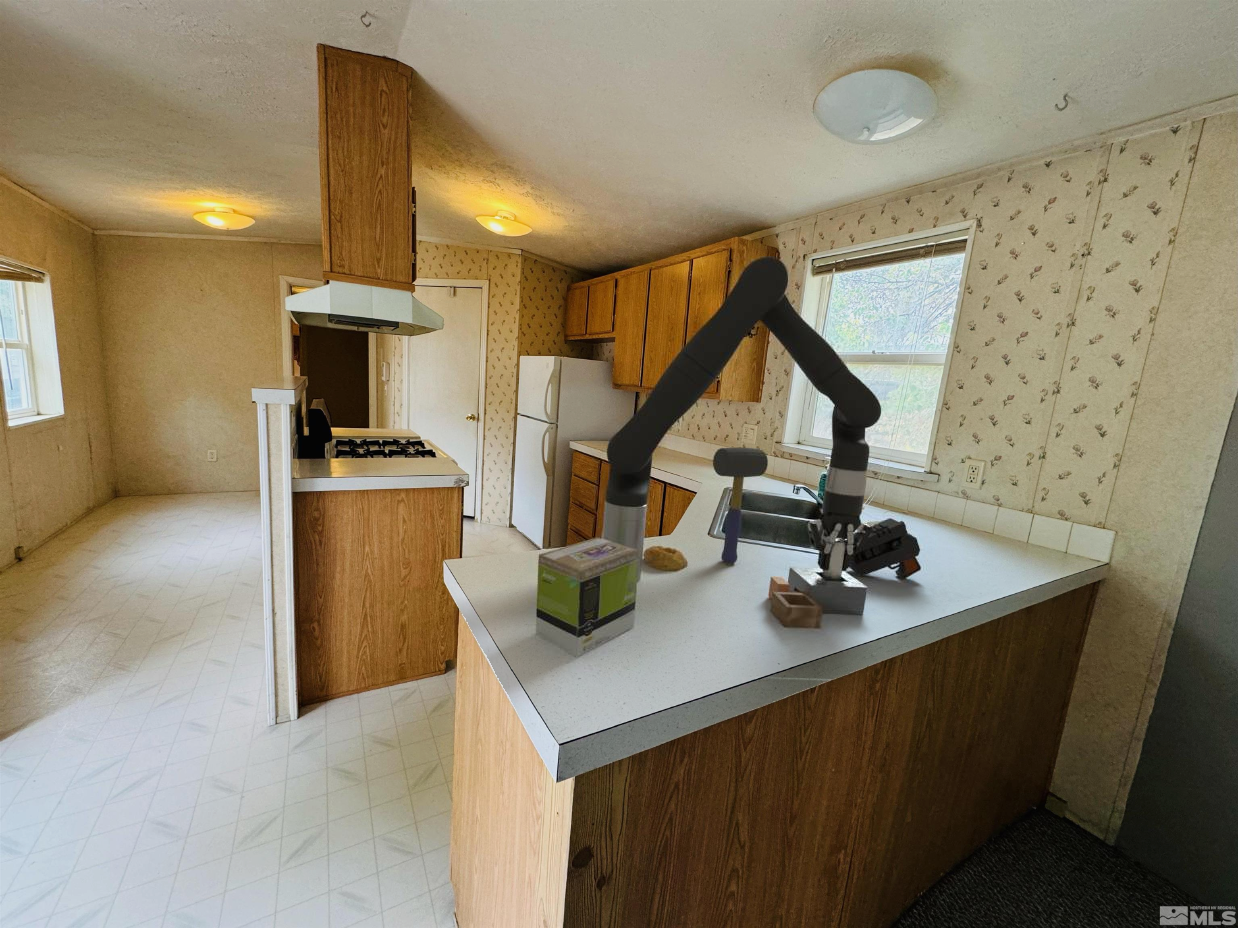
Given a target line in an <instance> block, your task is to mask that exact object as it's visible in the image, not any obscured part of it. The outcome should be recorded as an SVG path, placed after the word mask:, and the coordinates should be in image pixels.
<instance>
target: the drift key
mask: <svg viewBox="0 0 1238 928" xmlns="http://www.w3.org/2000/svg"><path fill="white" fill-rule="evenodd" d="M769 581H770V582H769V588H768V595H767V596H768V597H769V598H770V600H772V593H773V592H792V593H801V592H800V591H789V585H790V584H789V583H788V581H787V580H785V578H784V577H782V576H770V579H769Z"/></svg>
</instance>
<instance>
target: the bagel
mask: <svg viewBox="0 0 1238 928" xmlns="http://www.w3.org/2000/svg"><path fill="white" fill-rule="evenodd" d="M642 557H643V560H644V561H645V562H646V565H647V566H649V567H650V568H654V569H655V570H656V569H657V570H660V571H680V570H681V569H685V568H686V567H688V566H689V565H688V562H689V561H688V560H687V558H686V557H685V556H684V554H683V553H682V551H680V550H678V549H677V548H676V549H675V548H672V547H664V546H662V545H653V546H650V547H648V548H646V549H645V550H643V556H642Z"/></svg>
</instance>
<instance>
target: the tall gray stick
mask: <svg viewBox="0 0 1238 928" xmlns="http://www.w3.org/2000/svg"><path fill="white" fill-rule="evenodd" d="M845 548H846V542H845V541H843V540H841V539H840V538H836V540H835V543H834V544H832V547H831V549H830V552H829V554H830V556H829V563H828V570H823V575H822V578H823V579H824V580H826V581H839V582H840V580H841V574H842V567H843V561H844V554H845Z"/></svg>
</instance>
